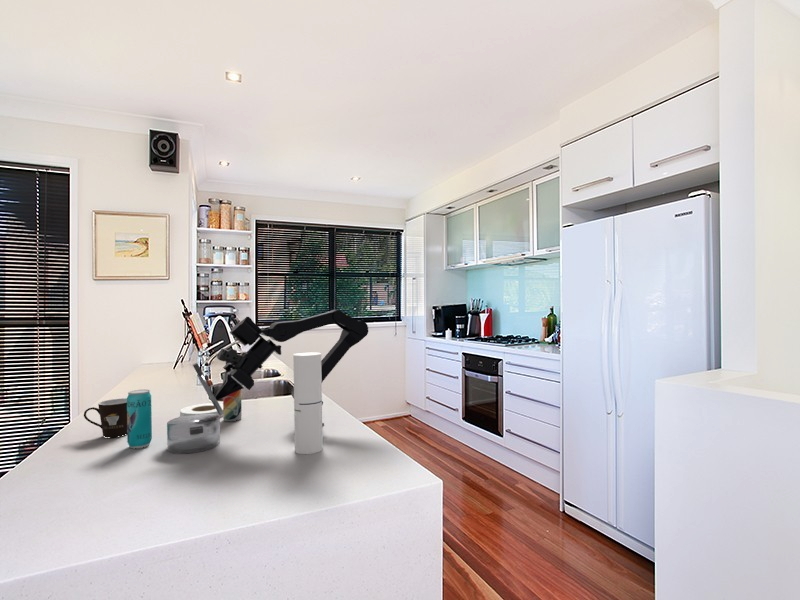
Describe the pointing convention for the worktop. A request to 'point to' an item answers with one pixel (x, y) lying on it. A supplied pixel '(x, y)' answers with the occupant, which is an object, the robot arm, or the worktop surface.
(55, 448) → the worktop surface
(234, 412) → the lotion bottle
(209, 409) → the roll of tape
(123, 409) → the coffee mug
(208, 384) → the lid
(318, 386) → the cylindrical container
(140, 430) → the beverage can
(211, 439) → the pot
